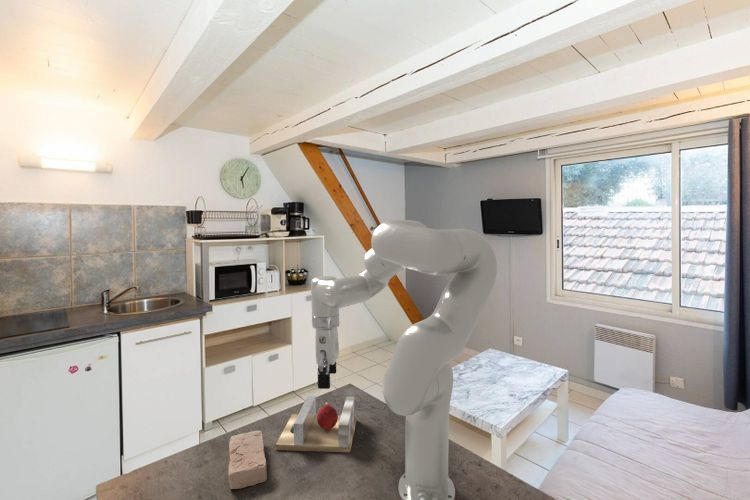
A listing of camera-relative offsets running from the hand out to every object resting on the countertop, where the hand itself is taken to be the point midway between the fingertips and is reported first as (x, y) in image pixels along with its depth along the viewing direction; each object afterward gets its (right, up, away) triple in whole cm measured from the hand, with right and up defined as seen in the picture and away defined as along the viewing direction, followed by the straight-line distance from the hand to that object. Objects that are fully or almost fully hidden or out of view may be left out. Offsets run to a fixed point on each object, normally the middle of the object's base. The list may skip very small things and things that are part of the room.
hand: (327, 380), depth 99 cm
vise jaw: (-7, -15, +2) cm, 16 cm away
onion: (0, -15, +1) cm, 15 cm away
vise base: (-3, -16, +2) cm, 16 cm away
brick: (-19, -18, -11) cm, 28 cm away
